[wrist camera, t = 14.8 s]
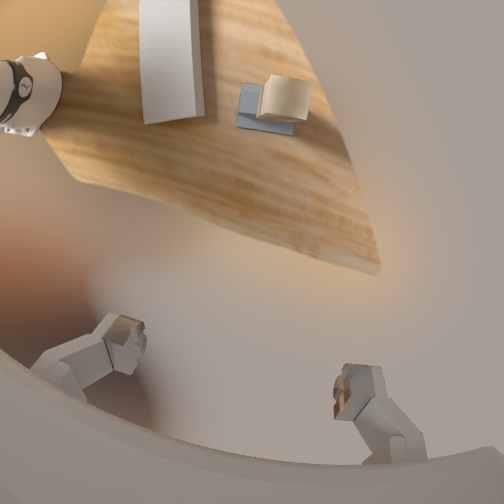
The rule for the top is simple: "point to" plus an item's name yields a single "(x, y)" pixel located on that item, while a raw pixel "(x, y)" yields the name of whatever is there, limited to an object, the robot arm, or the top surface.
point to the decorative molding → (170, 60)
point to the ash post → (284, 99)
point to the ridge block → (249, 111)
